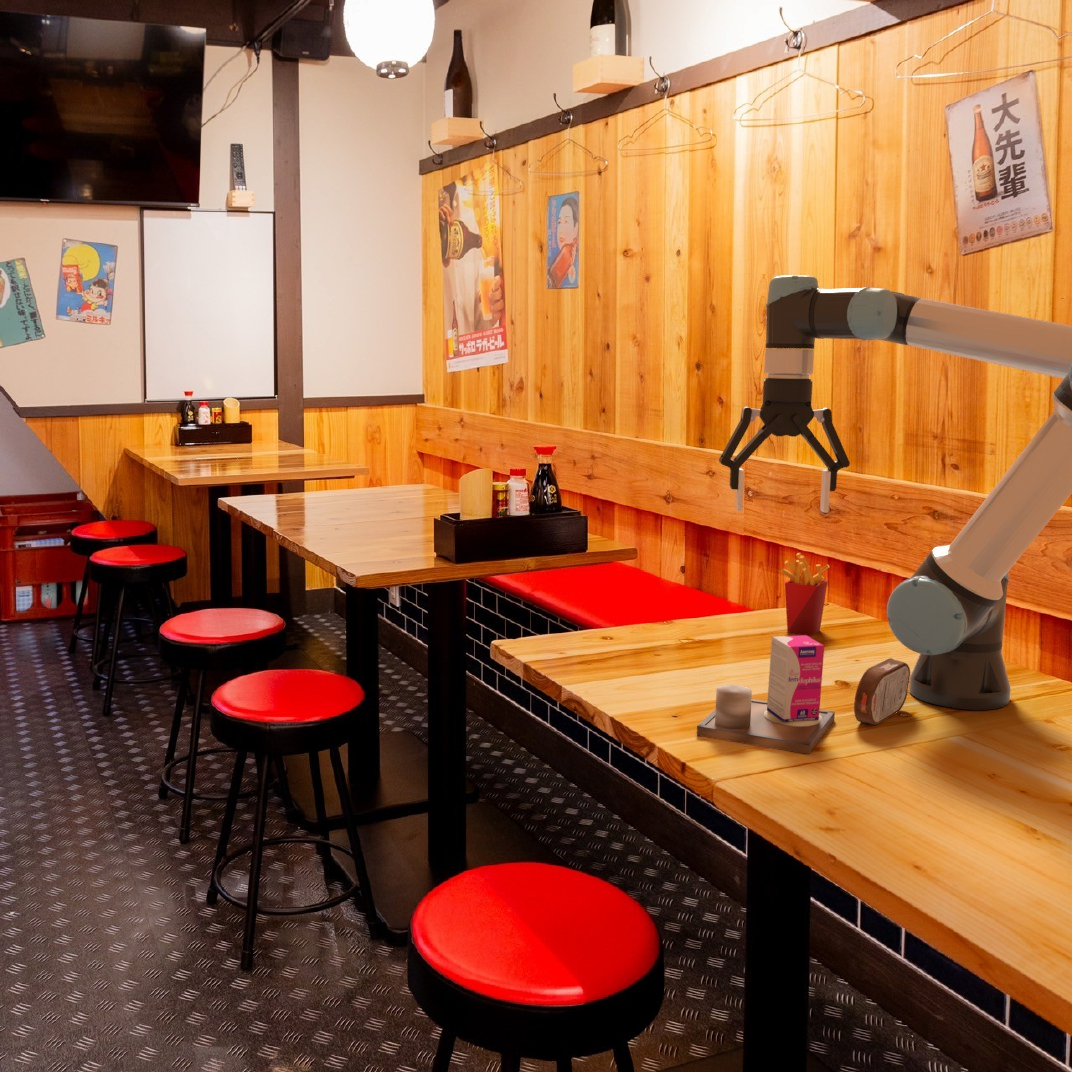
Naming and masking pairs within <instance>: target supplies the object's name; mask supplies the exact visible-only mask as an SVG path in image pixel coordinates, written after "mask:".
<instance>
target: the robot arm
mask: <svg viewBox="0 0 1072 1072" xmlns="http://www.w3.org/2000/svg"><path fill="white" fill-rule="evenodd" d="M765 307H766V329H765V331H766V333H765V335H766V336H765V349H764V350H765V351H764V353H765V354H764V366H763V367H764V374H765V375H767V377H766V378H764V379H763V386H762V387H763V391H762V405H761V407H760V409H759V408H751V407H748V406H743V407H742V409H741V415H740V420H739V422H738V424H737V426H736V427H735V430H734V431H733V433H732V435H731V437H730V438H729V440H728V442H727V444H726V446H725V448H724V449H723V451H722V453H721V455H720V456H719V458H718V462H719V464H721V465H722V466H725V467H727V468H729V470H730V471H729V487H730V489H731V490H734V491H735V503H734V505H735V507H734V509H735V510H736V511H737V512H743V510H744V509H743V507H744V505H743V504H744V487H745V486H744V485H745V484H744V483H745V470H744V469H743V468H741V467H742V466H743V465H744V463H746V461H747V460H748V459H749V458H750V457H751V456H752V455H753V454H754V452H756V450H757V449H758V448H759V447H760V446H761V445H762V443H764V441H765V440H767V439H768V438H769V437H770V436H771V435H773V436H775V437H785V436H789V437H794V438H795V437H798V436H800V435H801V437H802V438H803V439H804V440H805V441H806V443H807V444H808V445H809V446H810V448H811V449H812V450H813V451H814V453H815V455H816V456H817V457H818V458H819V460H821V462H822V463H823V464H824V465H825V467H826V468H827V469H822V470H821V487H820V489H821V490H820V504H819V511H820V512H822V513H826V514H827V513H829V508H830V493H831V492H835V491H836V490H837V484H838V483H837V481H838V480H837V479H838V471H840V470H841V469H844V468H848V467H849V466H850V464H851V463H850V460H849V457H848V455H847V453H846V451H845V449H844V447H843V444H842V442H841V440H840V437H839V435H838V433H837V431H836V428H835V426H834V423H833V415H832V413H833V412H832V410H831V409H830V408H827V407H823V408H821V409H813V407H812V397H813V383H814V382H813V380H812V378H810V376H812V375H813V374H814V357H815V344H816V339H818V340H819V339H820V340H821V339H824V340H825V339H832V340H833V339H834V340H835V339H836V340H837V339H838V340H860V341H875V340H876V341H877V340H878V341H884V342H890V343H892V344H893V343H894V344H897V345H898V344H899V345H904V346H909V347H915V348H919V349H925V350H928V351H933V352H938V353H942V354H947V355H952V356H955V357H961V358H966V359H971V360H974V361H980V362H983V363H984V362H985V363H989V364H992V365H993V364H994V365H998V366H1002V367H1007V368H1012V369H1016V370H1022V371H1027V372H1030V373H1031V372H1032V373H1035V374H1040V375H1045V376H1049V377H1053V378H1058V379H1059V378H1060V379H1063V380H1062V381H1061V382H1060V383H1059V385H1058V386H1057V388H1056V389H1055V390H1054V391H1053V392H1052V395H1051V396H1052V401H1053V407H1054V408H1053V412H1051V414H1050V415H1049V417H1048V418H1047V420H1045V422H1044V423H1043V425H1042V426H1041V427H1040V428H1039V430H1037V432H1036V433H1035V435H1034V436H1033V437H1032V438H1031V440H1030V441H1029V443H1028V444H1027V445H1026V447H1025V448H1024V449H1023V450H1022V452H1021V453H1020V454H1019V455H1018V457H1017V458H1015V460H1014V461H1013V463H1012V464H1011V465H1010V467H1009V468H1008V469H1007V470H1006V472H1005V473H1004V474H1003V476H1002V477H1001V478H1000V480H999V481H998V482H997V483H996V484H995V486H994V487H993V489H992V490H991V491H990V492H989V493H988V495H987V497H986V498H985V499H984V501H983V502H982V503H981V504H980V506H979V507H977V509H976V510H975V512H974V513H973V514H972V516H971V517H970V519H969V520H968V521H967V522H966V523H965V525H964V526H963V527H962V529H961V530H960V531H959V532H958V534H957V535H956V537H955V538H954V539H953V541H951V543H949V544H948V545H947V544H946V545H940V546H939V545H938V546H935V547H934V548H933V549H931V551H930V552H929V553H928V555H927V556H926V558H925V559H924V560H923V561H922V562H921V564H920V565H919V567H918V568H917V569H916V570H915V572H914V573H913V575H912V576H911V577H909V578H906V579H905V580H903V581H901V582H900V583H898V584H897V586H896V587H894V590H892V592H891V593H890V596H889V598H888V600H887V605H886V616H887V620H888V626H889V629H890V630H891V632H892V633H893V636H894V637H895V638H896V639H897V640H898V642H899V643H901V645H903V646H904V647H906V648H907V649H909V650H911V651H912V652H914V653H917V654H919V656H918V658H917V660H916V662H915V665H914V667H913V670H912V672H911V673H910V676H909V684H908V692H909V691H910V692H909V693H910V694H911V696H913V697H914V696H915V697H914V698H916V699H918V700H921V701H923V702H926V703H928V704H932V705H936V706H940V707H945V708H950V707H952V708H951V709H960V710H970V711H971V710H972V711H974V710H976V711H978V710H979V711H982V710H983V711H985V710H987V711H988V710H995V709H1000V708H999V707H1001V708H1003V707H1006V706H1007V705H1009V704H1010V702H1011V701H1010V699H1011V683H1010V681H1009V677H1008V673H1007V669H1006V665H1005V662H1004V658H1003V653H1002V651H1003V640H1004V630H1005V629H1004V628H1005V627H1004V626H1005V619H1006V618H1005V617H1006V607H1007V605H1006V604H1007V596H1008V595H1007V594H1008V584H1009V581H1010V577H1009V571H1010V570H1011V569H1012V568H1013V566H1015V564H1016V562H1017V561H1019V559H1020V558H1021V557H1022V555H1023V554H1024V553H1025V552H1026V550H1028V548H1029V547H1030V545H1031V544H1032V543H1033V542H1034V541H1035V539H1036V538H1037V537H1038V536H1039V535H1040V533H1041V532H1042V531H1043V530H1044V528H1046V526H1047V525H1048V524H1049V523H1050V521H1051V520H1052V518H1053V517H1054V516H1055V515H1056V514H1057V513H1058V511H1060V509H1061V508H1062V506H1063V505H1065V503H1066V502H1067V500H1069V498H1070V496H1071V495H1072V325H1070V324H1064V323H1059V322H1053V321H1049V320H1042V319H1036V318H1032V317H1026V316H1021V315H1015V314H1009V313H1005V312H1000V311H994V310H988V309H983V308H977V307H972V306H967V305H962V304H957V303H951V302H945V301H940V300H934V299H928V298H924V297H922V298H921V297H917V296H913V295H908V294H904V293H902V292H898V291H891V290H890V289H887V288H881V287H880V288H879V287H878V288H877V287H871V286H868V287H866V286H865V287H861V288H860V287H858V288H857V287H856V288H855V287H854V288H832V289H831V288H830V289H828V288H827V289H826V288H819V280H818V279H817V277H815V276H812V275H778V276H775V277H773V278H772V279H771V280H770V281H769V285H768V293H767V302H766V306H765ZM757 417H759V419H760V420H761V421H762V423H763V425H762V426H761V427H760V429H758V431H757V432H756V434H755V435H754V436H753V437H752V438H751V440H749V441H748V442H747V444H746V445H745V446H744V447H743V448H742V449H741V450H740V451H739V452H738V453H737V455H735V456H734V458H733V455H734V453H735V452H736V450H737V448H738V447H739V445H740V443H741V441H742V439H743V438H744V435H745V433H746V431H747V430H748V428H749V426H750V423H752V422H755V420H756V418H757ZM814 418H815V419H816V421H817V422H818V423H821V425H822V428H823V431H824V433H825V435H826V437H827V440H828V442H829V444H830V447H831V449H832V452H833V454H834V456H835V458H836V460H834V459H833V458H832V456H831V454H830V453H828V452H827V450H826V449H825V448H824V446H823V444H822V443H821V442H820V441H819V440H818V439H817V437H816V436H815V435H814V432H813V431H812V430H811V429H810V428H809V427H808V425H809V424H810V423H811V421H813V419H814ZM732 458H733V459H732ZM1009 701H1010V702H1009ZM1008 703H1009V704H1008Z"/></svg>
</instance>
